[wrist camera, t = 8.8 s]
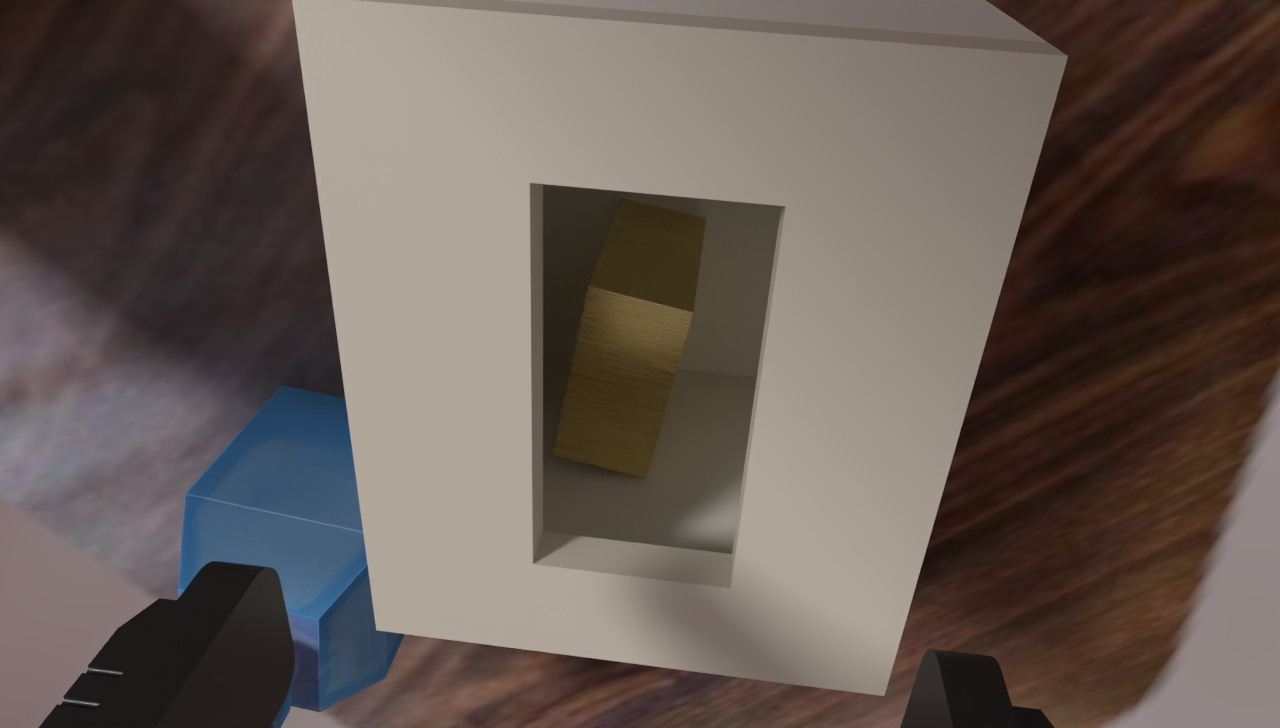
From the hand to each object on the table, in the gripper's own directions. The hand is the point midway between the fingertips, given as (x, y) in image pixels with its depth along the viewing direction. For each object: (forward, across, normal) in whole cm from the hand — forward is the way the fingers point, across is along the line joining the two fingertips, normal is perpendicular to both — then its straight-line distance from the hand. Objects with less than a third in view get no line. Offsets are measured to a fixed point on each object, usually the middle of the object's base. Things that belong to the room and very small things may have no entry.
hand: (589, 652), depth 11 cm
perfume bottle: (+18, +11, +12) cm, 24 cm away
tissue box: (+18, 0, 0) cm, 18 cm away
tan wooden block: (+14, 0, 0) cm, 14 cm away
